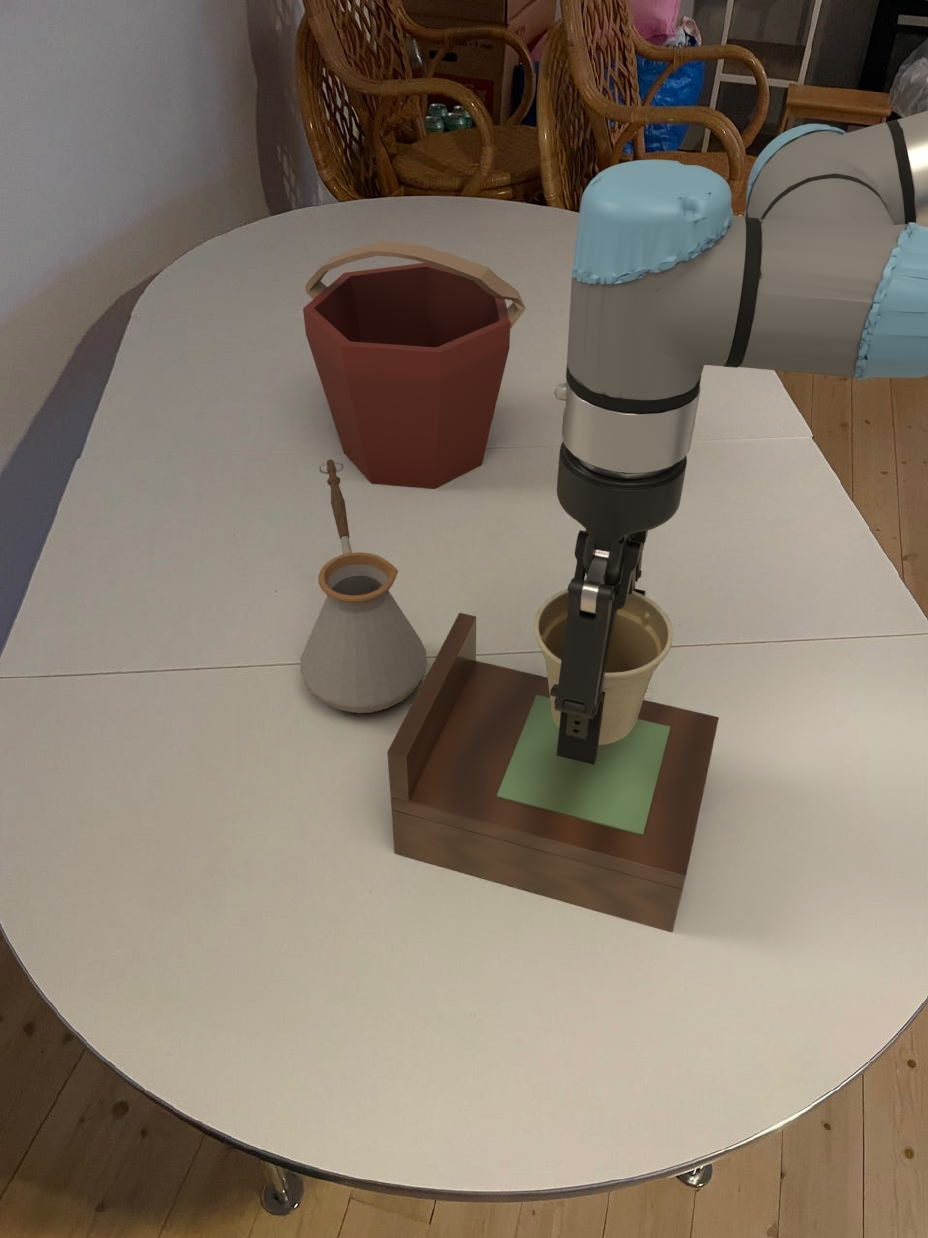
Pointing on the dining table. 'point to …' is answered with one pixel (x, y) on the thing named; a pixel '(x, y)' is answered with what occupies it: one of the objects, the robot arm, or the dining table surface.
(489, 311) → the bucket
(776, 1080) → the dining table surface
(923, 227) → the robot arm
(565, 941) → the dining table surface
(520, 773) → the plant shelf
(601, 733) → the flower pot
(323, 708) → the dining table surface
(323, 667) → the coffee pot
